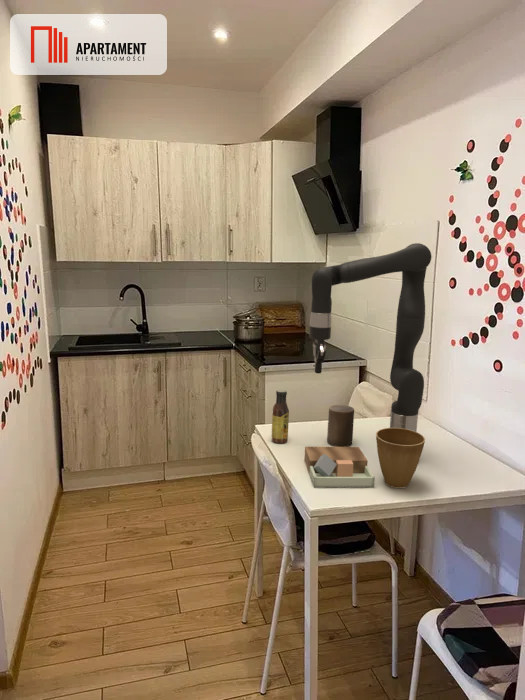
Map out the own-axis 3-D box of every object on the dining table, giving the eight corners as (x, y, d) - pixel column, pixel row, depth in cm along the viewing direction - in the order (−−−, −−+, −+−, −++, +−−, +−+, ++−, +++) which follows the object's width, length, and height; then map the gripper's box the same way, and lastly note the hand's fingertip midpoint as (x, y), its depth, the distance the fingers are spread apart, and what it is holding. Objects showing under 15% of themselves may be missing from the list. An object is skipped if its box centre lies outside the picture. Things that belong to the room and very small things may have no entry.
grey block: (331, 466, 168) (336, 464, 165) (324, 477, 165) (329, 476, 162) (320, 456, 167) (325, 453, 165) (313, 467, 164) (317, 465, 162)
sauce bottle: (286, 444, 193) (288, 393, 189) (270, 443, 194) (271, 392, 191) (288, 438, 200) (291, 389, 196) (273, 437, 201) (274, 388, 197)
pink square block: (351, 460, 167) (353, 463, 164) (350, 474, 168) (352, 478, 165) (336, 460, 167) (338, 463, 164) (335, 474, 167) (337, 478, 165)
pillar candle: (354, 447, 193) (356, 409, 190) (327, 446, 193) (330, 408, 190) (350, 438, 202) (352, 401, 199) (325, 437, 202) (327, 400, 200)
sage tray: (366, 475, 169) (367, 465, 169) (374, 487, 160) (374, 477, 160) (309, 474, 168) (309, 465, 167) (313, 487, 159) (314, 477, 159)
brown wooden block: (357, 460, 181) (358, 446, 180) (366, 475, 169) (367, 460, 168) (304, 460, 180) (304, 446, 179) (309, 474, 168) (310, 460, 167)
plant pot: (368, 472, 171) (372, 426, 168) (413, 474, 171) (417, 428, 168) (377, 493, 157) (381, 443, 154) (426, 495, 156) (431, 445, 153)
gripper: (334, 328, 175) (331, 377, 178) (327, 322, 188) (325, 368, 191) (312, 327, 174) (310, 377, 178) (307, 322, 187) (304, 368, 190)
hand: (317, 372), depth 184 cm, fingers closed
